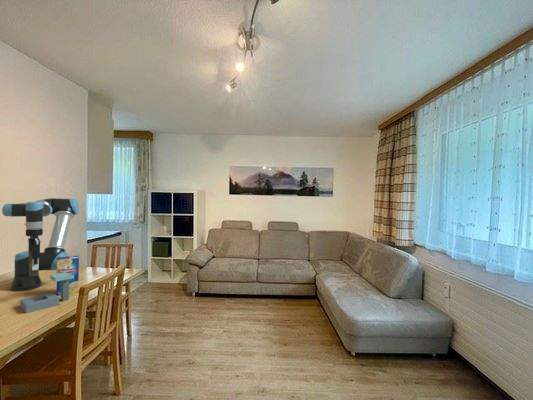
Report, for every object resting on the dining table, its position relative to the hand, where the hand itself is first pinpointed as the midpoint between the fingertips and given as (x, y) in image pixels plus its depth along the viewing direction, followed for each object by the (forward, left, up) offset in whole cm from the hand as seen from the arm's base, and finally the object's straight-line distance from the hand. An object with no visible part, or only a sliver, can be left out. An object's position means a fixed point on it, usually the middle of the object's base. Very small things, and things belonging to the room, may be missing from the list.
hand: (33, 268), depth 158 cm
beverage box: (+1, +16, -18) cm, 24 cm away
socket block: (+13, 0, -18) cm, 22 cm away
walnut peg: (0, 0, -4) cm, 4 cm away
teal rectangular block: (+13, +9, -18) cm, 24 cm away
